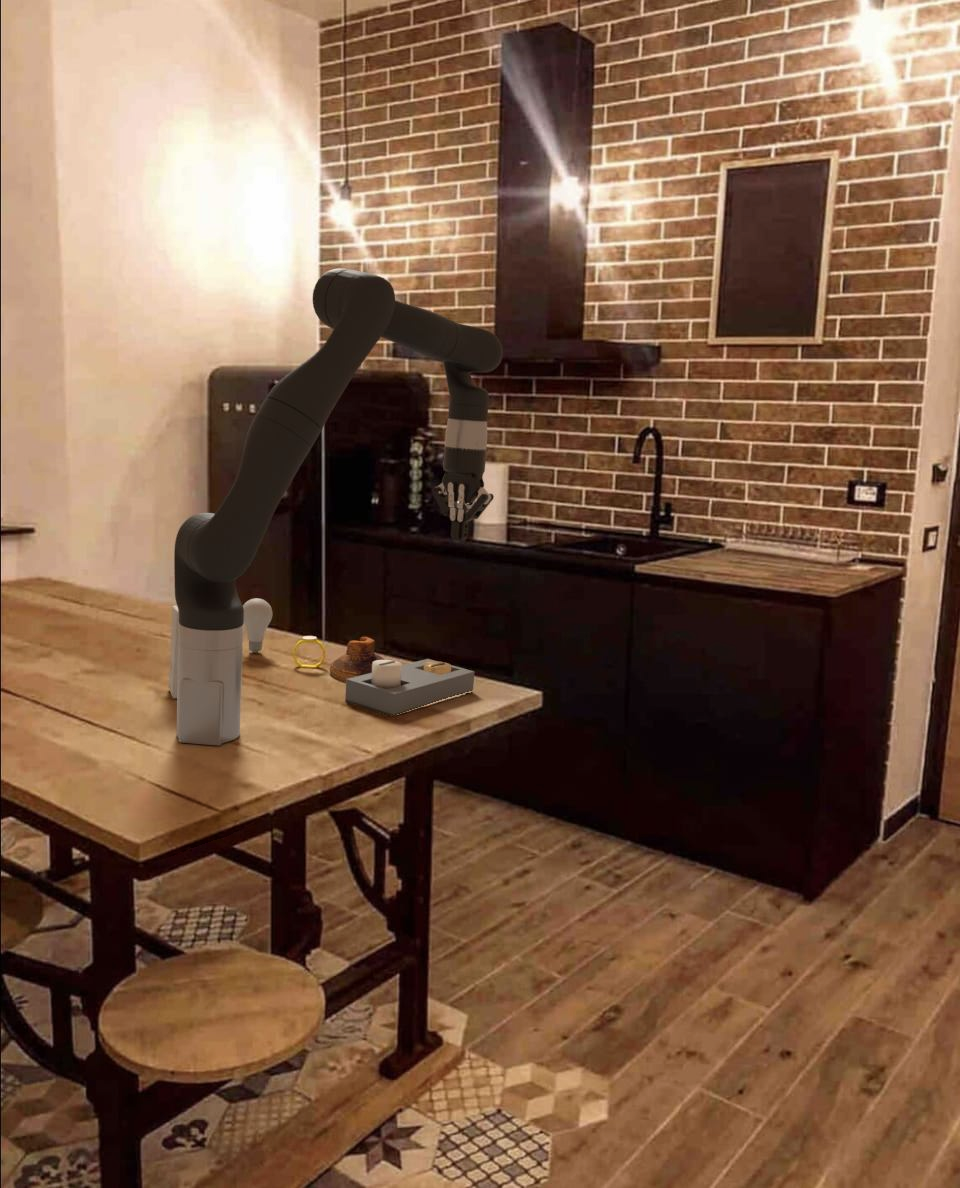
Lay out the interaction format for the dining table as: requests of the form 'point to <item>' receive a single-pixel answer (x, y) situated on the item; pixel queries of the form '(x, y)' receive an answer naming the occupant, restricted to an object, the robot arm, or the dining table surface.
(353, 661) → the broken clay vessel
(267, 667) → the dining table surface
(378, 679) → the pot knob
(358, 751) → the dining table surface
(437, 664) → the brass knob
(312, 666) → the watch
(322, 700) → the dining table surface
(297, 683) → the dining table surface
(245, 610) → the lightbulb
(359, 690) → the knob mount
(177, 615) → the skincare box
